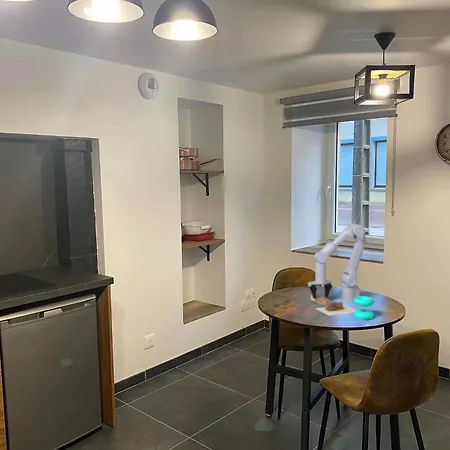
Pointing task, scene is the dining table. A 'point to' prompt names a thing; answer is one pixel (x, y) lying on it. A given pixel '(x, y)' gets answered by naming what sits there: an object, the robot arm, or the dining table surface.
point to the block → (334, 306)
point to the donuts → (363, 302)
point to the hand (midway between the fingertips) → (320, 297)
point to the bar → (320, 300)
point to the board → (346, 310)
